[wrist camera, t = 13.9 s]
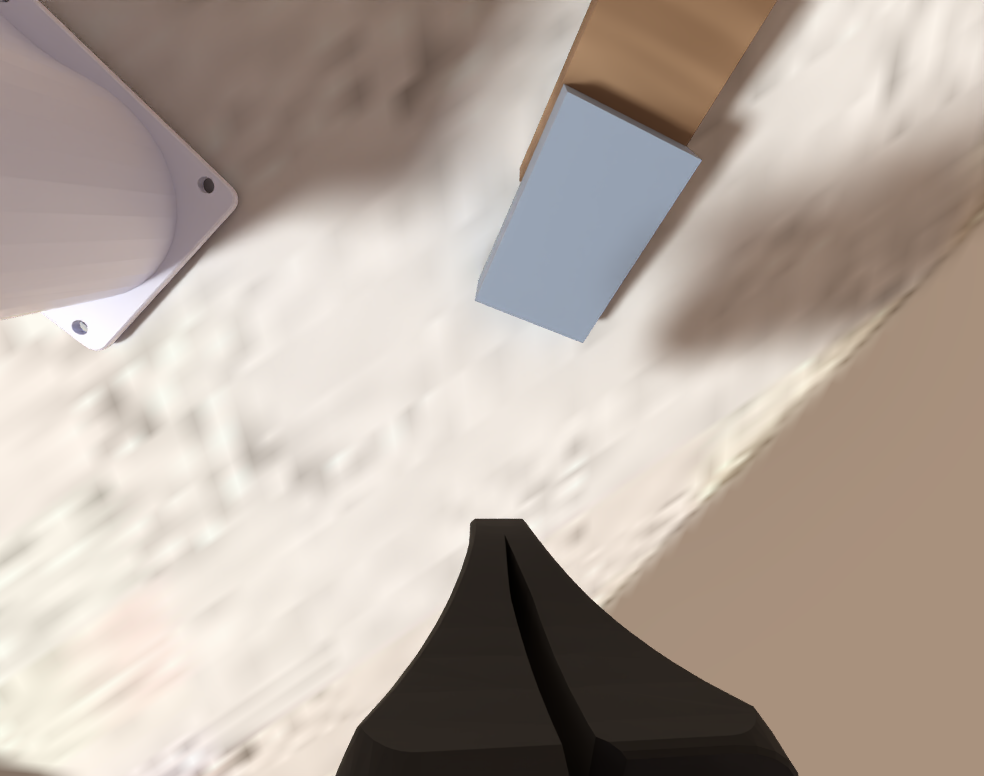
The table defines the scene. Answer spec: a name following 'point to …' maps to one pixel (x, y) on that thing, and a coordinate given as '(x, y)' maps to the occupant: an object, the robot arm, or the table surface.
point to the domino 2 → (582, 215)
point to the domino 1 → (657, 59)
